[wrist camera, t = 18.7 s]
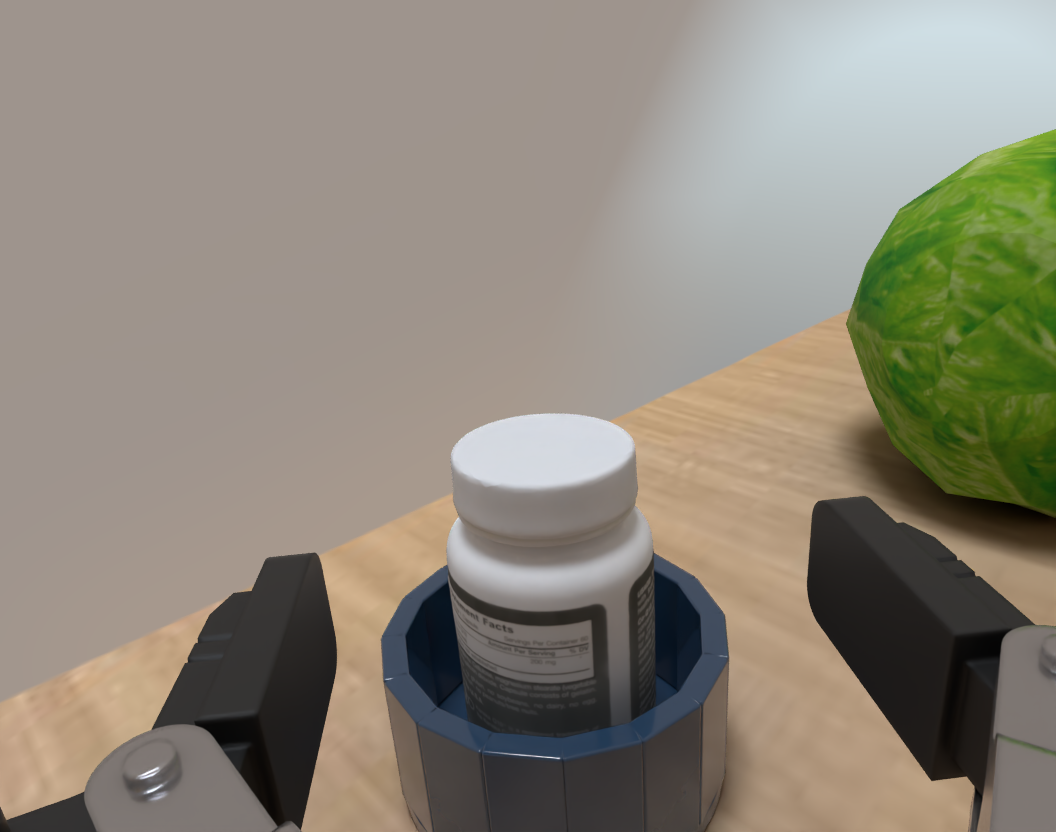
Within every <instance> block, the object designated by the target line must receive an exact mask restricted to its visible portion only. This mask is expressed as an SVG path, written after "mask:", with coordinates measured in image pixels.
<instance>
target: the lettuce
mask: <svg viewBox="0 0 1056 832" xmlns="http://www.w3.org/2000/svg"><path fill="white" fill-rule="evenodd" d="M846 325H847V328H848V331H849V334H850V337H851V340H852V343H853V346H854V349H855V352H856V355H857V358H858V361H859V364H860V367H861V370H862V372H863V375H864V378H865V381H866V384H867V387H868V389H869V392H870V394H871V396H872V399H873V401H874V403H875V405H876V408H877V410H878V412H879V415H880V417H881V419H882V421H883V424H884V426H885V428H886V430H887V433H888V435H889V437H890V440H891V442H892V444H893V445H894V446H895V447H896V448H897V449H898V450H899V451H900V452H901V453H902V454H904V455H905V456H906V457H907V458H908V459H909V460H910V461H911V462H912V463H914V464H915V465H916V466H917V467H918V468H919V469H920V470H921V471H922V472H924V473H925V474H926V475H927V476H928V477H929V478H930V479H931V480H932V481H934V482H935V483H936V484H937V485H938V486H939V487H940V488H941V489H942V490H944V491H945V492H946V493H948V494H954V495H961V496H968V497H974V498H981V499H988V500H994V501H1001V502H1007V503H1013V504H1016V505H1019V506H1022V507H1025V508H1028V509H1031V510H1034V511H1037V512H1040V513H1043V514H1045V515H1048V516H1051V517H1054V518H1056V129H1055V130H1052V131H1049V132H1046V133H1043V134H1040V135H1037V136H1034V137H1031V138H1028V139H1025V140H1023V141H1020V142H1016V143H1014V144H1011V145H1008V146H1005V147H1002V148H999V149H996V150H993V151H990V152H987V153H984V154H982V155H980V156H978V157H977V158H975V159H974V160H972V161H971V162H969V163H968V164H966V165H965V166H963V167H962V168H960V169H959V170H957V171H956V172H954V173H953V174H951V175H950V176H948V177H947V178H945V179H944V180H942V181H941V182H939V183H938V184H936V185H935V186H933V187H932V188H931V189H929V190H927V191H926V192H925V193H923V194H922V195H920V196H919V197H917V198H916V199H914V200H913V201H911V202H910V203H908V204H907V205H905V206H904V207H902V208H901V209H899V211H898V213H897V214H896V216H895V218H894V219H893V221H892V223H891V224H890V226H889V227H888V229H887V231H886V232H885V234H884V236H883V238H882V239H881V241H880V242H879V244H878V246H877V247H876V249H875V250H874V252H873V254H872V255H871V257H870V259H869V260H868V262H867V264H866V267H865V269H864V272H863V275H862V278H861V281H860V284H859V287H858V290H857V293H856V296H855V299H854V302H853V305H852V308H851V310H850V313H849V316H848V319H847V322H846Z"/></svg>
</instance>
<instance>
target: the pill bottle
mask: <svg viewBox="0 0 1056 832" xmlns="http://www.w3.org/2000/svg"><path fill="white" fill-rule="evenodd" d="M451 469H452V480H453V502H454V505H455V508H456V510H457V513H458V515H459V517H458V518H457V520H456V521H455V523H454V525H453V526H452V528H451V530H450V533H449V537H448V541H447V565H448V582H449V587H450V594H451V601H452V608H453V615H454V621H455V626H456V633H457V641H458V648H459V656H460V663H461V670H462V678H463V685H464V693H465V703H466V710H467V717H468V721H470V722H472V723H474V724H476V725H479V726H481V727H483V728H485V729H488V730H490V731H492V732H499V733H511V734H523V735H535V736H547V737H559V738H562V737H566V736H571V735H575V734H580V733H584V732H589V731H593V730H598V729H602V728H607V727H612V726H616V725H621V724H625V723H629V722H630V721H632V720H634V719H635V718H637V717H638V716H640V715H642V714H643V713H645V712H647V711H648V710H650V709H651V708H653V707H655V706H656V674H655V607H654V551H653V540H652V533H651V530H650V527H649V524H648V522H647V520H646V518H645V517H644V515H643V514H642V513H641V511H640V510H639V509H638V508H637V507H636V506H635V501H636V497H637V492H638V484H637V470H636V453H635V445H634V441H633V439H632V437H631V436H630V435H629V434H628V433H627V432H626V431H625V430H623V429H622V428H620V427H619V426H617V425H615V424H613V423H610V422H608V421H605V420H602V419H598V418H594V417H589V416H583V415H575V414H532V415H524V416H517V417H511V418H507V419H503V420H498V421H495V422H492V423H489V424H486V425H484V426H482V427H479V428H477V429H475V430H473V431H472V432H470V433H468V434H467V435H465V436H464V437H462V439H460V441H459V442H457V444H456V445H455V446H454V448H453V451H452V453H451Z"/></svg>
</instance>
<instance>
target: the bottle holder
mask: <svg viewBox="0 0 1056 832" xmlns="http://www.w3.org/2000/svg"><path fill="white" fill-rule="evenodd" d="M654 607H655V674H656V706H655V707H653V708H651V709H650V710H648V711H647V712H645V713H643V714H642V715H640V716H638V717H637V718H635V719H634V720H632V721H630V722H629V723H625V724H621V725H616V726H612V727H607V728H602V729H598V730H593V731H589V732H584V733H580V734H575V735H571V736H566V737H562V738H559V737H547V736H535V735H523V734H511V733H499V732H492V731H490V730H488V729H485V728H483V727H481V726H479V725H476V724H474V723H472V722H470V721H468V717H467V710H466V703H465V693H464V685H463V678H462V670H461V663H460V656H459V648H458V641H457V633H456V626H455V621H454V615H453V608H452V601H451V594H450V587H449V582H448V565H446V566H444V567H443V568H440V569H439V570H438V571H436V572H435V573H434V574H433V575H431V576H430V577H429V578H428V579H426V580H425V581H424V582H423V583H421V584H420V585H419V586H417V587H416V588H415V589H414V590H412V591H411V592H410V593H409V594H407V595H406V596H405V597H404V598H403V599H402V601H401V603H400V604H399V606H398V608H397V610H396V612H395V613H394V615H393V617H392V619H391V621H390V622H389V624H388V626H387V628H386V630H385V631H384V633H383V635H382V638H381V650H382V668H383V682H384V688H385V694H386V700H387V706H388V711H389V717H390V723H391V729H392V734H393V740H394V746H395V752H396V758H397V763H398V769H399V775H400V781H401V786H402V792H403V795H404V798H405V799H406V802H407V805H408V808H409V811H410V814H411V816H412V819H413V821H414V823H415V824H416V826H417V828H418V830H419V832H704V830H705V828H706V827H707V825H708V823H709V821H710V820H711V818H712V816H713V814H714V811H715V809H716V806H717V803H718V801H719V798H720V793H721V788H722V782H723V778H724V775H725V768H726V738H727V708H728V678H729V651H728V640H727V630H726V619H725V614H724V613H723V611H722V610H721V609H720V607H719V606H718V605H717V604H716V602H715V601H714V600H713V598H712V597H711V596H710V594H709V593H708V592H707V591H706V589H705V588H704V587H703V585H702V584H701V583H700V581H699V580H698V579H697V578H695V576H693V575H691V574H690V573H688V572H686V571H684V570H683V569H681V568H679V567H678V566H676V565H674V564H672V563H671V562H669V561H667V560H665V559H664V558H662V557H660V556H659V555H657V554H655V553H654Z"/></svg>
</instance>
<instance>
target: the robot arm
mask: <svg viewBox="0 0 1056 832" xmlns="http://www.w3.org/2000/svg"><path fill="white" fill-rule="evenodd" d="M807 591H808V598H809V603H810V606H811V609H812V612H813V615H814V617H815V619H816V621H817V622H818V624H819V625H820V627H821V628H822V629H823V631H824V632H825V633H826V635H827V636H828V638H829V639H830V640H831V642H832V643H833V645H834V646H835V647H836V649H837V650H838V652H839V653H840V654H841V656H842V657H843V659H844V660H845V661H846V663H847V664H848V665H849V667H850V668H851V670H852V671H853V672H854V674H855V675H856V677H857V678H858V679H859V681H860V682H861V684H862V685H863V686H864V688H865V689H866V690H867V692H868V693H869V695H870V696H871V697H872V699H873V700H874V702H875V703H876V704H877V706H878V707H879V709H880V710H881V711H882V713H883V714H884V715H885V717H886V718H887V720H888V721H889V722H890V724H891V725H892V727H893V728H894V729H895V731H896V732H897V734H898V735H899V736H900V738H901V739H902V741H903V742H904V743H905V745H906V746H907V747H908V749H909V750H910V752H911V753H912V754H913V756H914V757H915V759H916V760H917V761H918V763H919V764H920V766H921V767H922V768H923V770H924V771H925V772H926V774H927V775H928V777H929V778H930V779H931V781H934V780H942V779H950V778H958V777H966V776H967V777H968V779H969V780H970V781H971V782H972V784H973V785H974V786H975V787H974V792H973V797H972V803H971V809H970V818H969V826H968V832H1056V626H1047V625H1035V624H1034V623H1033V622H1032V621H1030V620H1029V619H1028V618H1027V617H1026V616H1025V615H1024V614H1022V613H1021V612H1020V611H1019V610H1018V609H1017V608H1016V607H1014V606H1013V605H1012V604H1011V603H1010V602H1009V601H1007V600H1006V599H1005V598H1004V597H1003V596H1002V595H1001V594H999V593H998V592H997V591H996V590H995V589H994V588H993V587H991V586H990V585H989V584H988V583H987V582H986V581H984V580H983V579H982V578H981V577H980V576H975V572H974V571H973V570H972V569H971V568H970V567H968V566H967V565H966V564H965V563H964V562H963V561H961V560H957V556H956V555H955V554H953V553H952V552H951V551H950V550H949V549H948V548H946V547H945V546H944V545H943V544H942V543H941V542H940V541H938V540H937V539H936V538H935V537H933V536H931V535H929V534H927V533H925V532H923V531H920V530H918V529H916V528H914V527H912V526H910V525H908V524H906V523H904V522H902V523H896V522H895V521H894V520H893V519H892V518H891V517H890V516H889V515H888V514H886V513H885V512H884V511H883V510H882V509H881V508H880V507H879V506H878V505H877V504H875V503H874V502H873V501H872V500H871V499H870V498H868V497H866V496H860V497H850V498H841V499H831V500H822V501H818V502H817V503H816V504H815V506H814V509H813V513H812V523H811V537H810V550H809V564H808V577H807ZM336 666H337V647H336V637H335V631H334V626H333V621H332V616H331V611H330V606H329V600H328V595H327V590H326V585H325V580H324V575H323V570H322V565H321V562H320V559H319V556H318V555H317V554H316V553H307V554H297V555H288V556H278V557H269V558H267V559H266V560H265V562H264V564H263V567H262V569H261V571H260V573H259V575H258V578H257V580H256V582H255V584H254V587H253V589H252V591H248V592H238V593H233V594H232V595H231V596H230V597H229V598H228V599H227V600H225V601H224V602H223V603H222V604H221V605H220V606H219V607H218V608H217V609H215V610H214V611H213V612H212V613H211V614H210V615H209V617H208V619H207V621H206V623H205V625H204V627H203V629H202V631H201V633H200V635H199V637H198V643H195V645H194V647H193V649H192V651H191V653H190V655H189V657H188V663H185V664H184V666H183V668H182V670H181V672H180V674H179V676H178V678H177V680H176V682H175V684H174V686H173V688H172V690H171V692H170V694H169V696H168V698H167V700H166V702H165V704H164V706H163V708H162V710H161V712H160V714H159V716H158V718H157V720H156V722H155V724H154V726H153V728H152V730H150V731H148V732H145V733H143V734H140V735H138V736H136V737H134V738H132V739H131V740H129V741H127V742H125V743H124V744H122V745H121V746H119V747H118V748H117V749H115V750H114V751H113V752H111V753H110V754H109V755H108V756H107V757H106V758H105V759H104V760H103V761H102V762H101V763H100V764H99V765H98V766H97V768H96V769H95V770H94V772H93V773H92V774H91V776H90V778H89V780H88V782H87V785H86V788H85V792H83V793H81V794H78V795H76V796H73V797H71V798H68V799H65V800H62V801H60V802H57V803H54V804H51V805H48V806H45V807H43V808H40V809H37V810H34V811H31V812H28V813H26V814H23V815H20V816H17V817H14V818H11V819H9V820H6V819H5V817H4V814H3V812H2V810H1V808H0V832H302V831H301V827H302V823H303V818H304V814H305V809H306V805H307V800H308V796H309V791H310V787H311V783H312V778H313V774H314V769H315V765H316V760H317V756H318V751H319V747H320V742H321V738H322V733H323V729H324V724H325V720H326V715H327V711H328V706H329V702H330V697H331V693H332V688H333V684H334V679H335V674H336Z"/></svg>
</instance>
